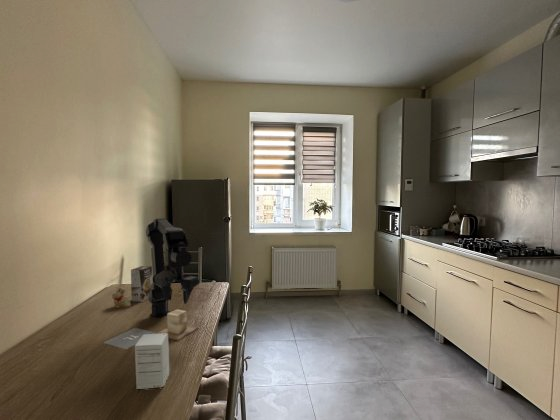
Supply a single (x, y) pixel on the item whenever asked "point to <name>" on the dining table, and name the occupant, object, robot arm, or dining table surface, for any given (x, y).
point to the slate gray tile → (128, 338)
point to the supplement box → (152, 360)
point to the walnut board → (181, 335)
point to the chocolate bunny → (120, 299)
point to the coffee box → (141, 283)
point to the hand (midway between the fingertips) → (176, 301)
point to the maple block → (177, 321)
